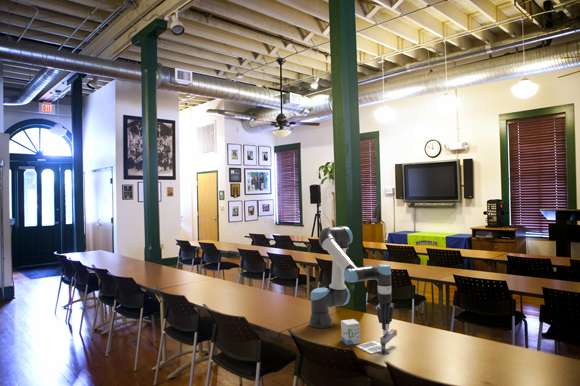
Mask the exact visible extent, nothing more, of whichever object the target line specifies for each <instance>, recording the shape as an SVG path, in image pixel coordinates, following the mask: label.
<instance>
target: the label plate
mask: <svg viewBox="0 0 580 386" xmlns="http://www.w3.org/2000/svg"><path fill="white" fill-rule="evenodd" d="M355 348H357V349H359V350H361V351H364V352H366V353H368V354H370V355H374V354H379V353H378V351H381V344H380V342H378V341H375V340H371V341H367V342H365V343H359V344H355ZM388 350H391V349H390V347H388V346H386V351H388Z"/></svg>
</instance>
